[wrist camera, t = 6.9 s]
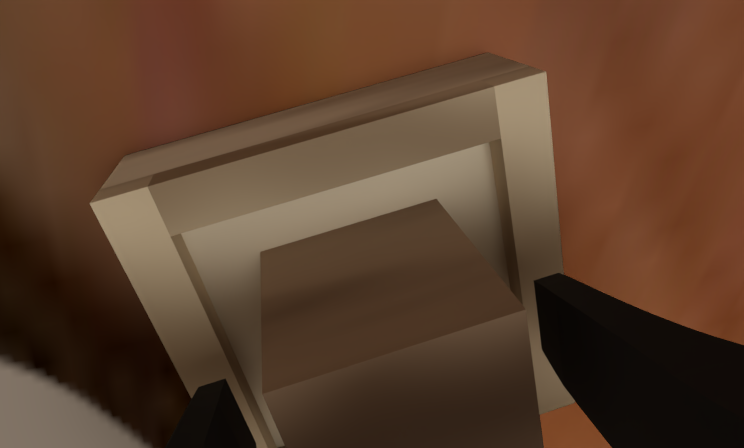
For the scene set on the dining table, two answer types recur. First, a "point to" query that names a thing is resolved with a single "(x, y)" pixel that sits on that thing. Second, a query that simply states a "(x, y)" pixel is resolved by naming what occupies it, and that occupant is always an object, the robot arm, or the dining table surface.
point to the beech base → (334, 206)
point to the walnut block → (395, 340)
